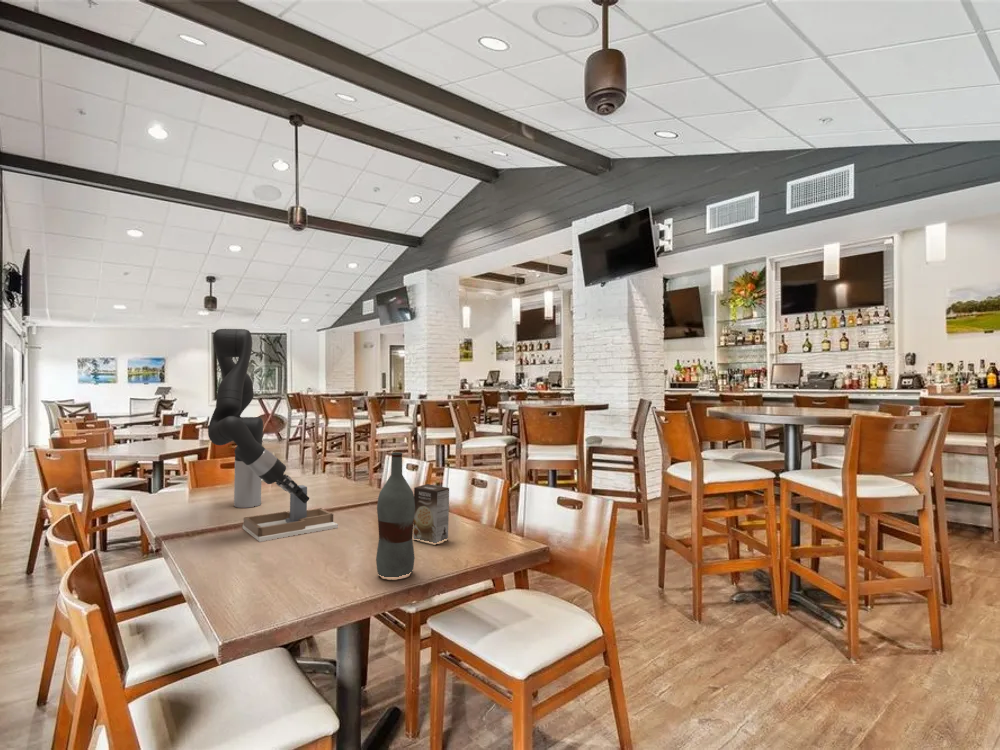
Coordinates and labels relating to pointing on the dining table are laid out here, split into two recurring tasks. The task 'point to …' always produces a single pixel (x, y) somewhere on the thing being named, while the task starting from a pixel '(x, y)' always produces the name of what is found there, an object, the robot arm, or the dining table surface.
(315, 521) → the keyhole guide board
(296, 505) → the slate keyhole peg
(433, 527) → the coffee box
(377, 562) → the bottle
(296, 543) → the dining table surface
